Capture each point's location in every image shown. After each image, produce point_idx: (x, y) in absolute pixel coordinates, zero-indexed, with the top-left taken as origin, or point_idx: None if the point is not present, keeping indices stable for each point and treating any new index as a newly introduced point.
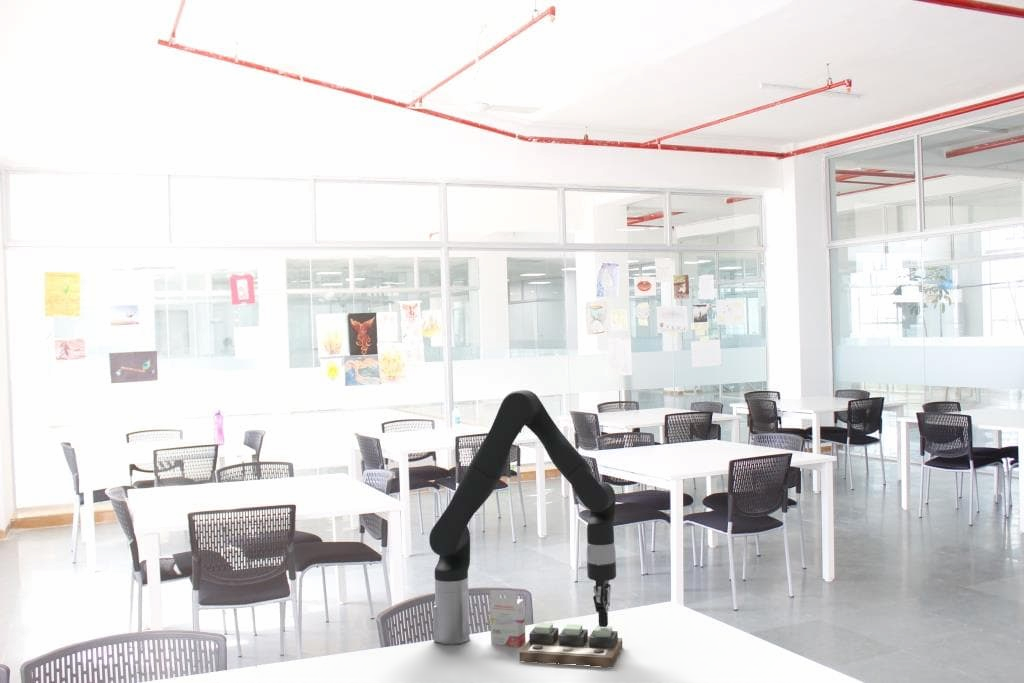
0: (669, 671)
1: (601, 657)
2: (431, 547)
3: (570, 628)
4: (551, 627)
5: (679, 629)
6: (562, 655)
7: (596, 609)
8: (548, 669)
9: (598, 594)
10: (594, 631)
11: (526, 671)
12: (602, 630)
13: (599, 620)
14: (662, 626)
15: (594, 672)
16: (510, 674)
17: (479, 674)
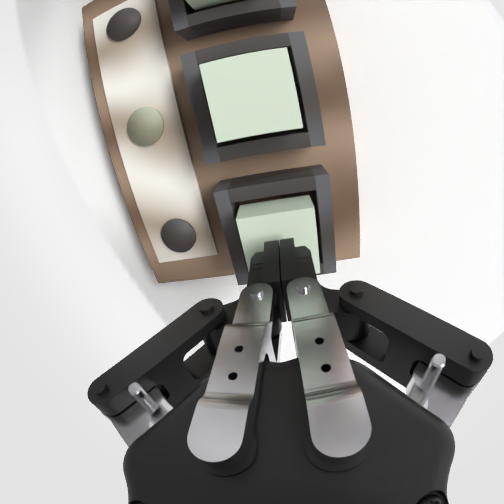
0: None
1: (146, 255)
2: None
3: (216, 91)
4: None
5: (477, 312)
6: (105, 132)
7: (181, 319)
8: (77, 115)
9: (119, 429)
10: (237, 217)
11: (49, 79)
12: (249, 253)
13: (265, 258)
14: (498, 278)
15: (117, 236)
16: (28, 66)
17: (18, 21)
